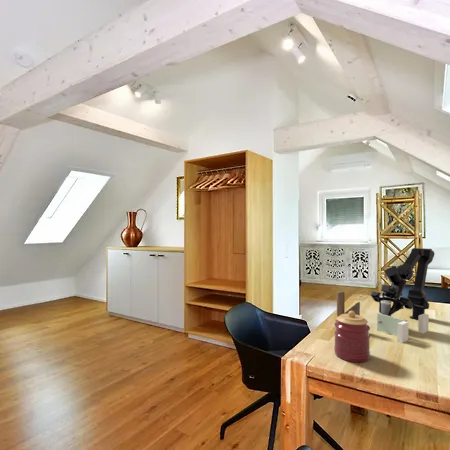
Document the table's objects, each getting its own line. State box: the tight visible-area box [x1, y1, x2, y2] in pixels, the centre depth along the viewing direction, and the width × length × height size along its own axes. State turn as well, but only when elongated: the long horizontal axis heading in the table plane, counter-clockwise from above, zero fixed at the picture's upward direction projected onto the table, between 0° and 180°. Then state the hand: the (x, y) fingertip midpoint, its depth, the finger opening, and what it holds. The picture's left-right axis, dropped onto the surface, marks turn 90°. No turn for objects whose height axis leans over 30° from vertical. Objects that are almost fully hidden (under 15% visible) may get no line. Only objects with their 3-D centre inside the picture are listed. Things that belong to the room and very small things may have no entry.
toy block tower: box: [334, 290, 361, 328], centre depth 150 cm, size 4×11×18 cm, turn 46°
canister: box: [333, 311, 371, 363], centre depth 120 cm, size 13×13×18 cm
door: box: [376, 312, 408, 337], centre depth 143 cm, size 14×3×8 cm, turn 33°
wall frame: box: [397, 313, 430, 344], centre depth 141 cm, size 26×2×8 cm, turn 125°
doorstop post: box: [380, 300, 392, 317], centre depth 150 cm, size 4×4×13 cm
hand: (384, 313), depth 149 cm, fingers closed on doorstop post, 4 cm apart
